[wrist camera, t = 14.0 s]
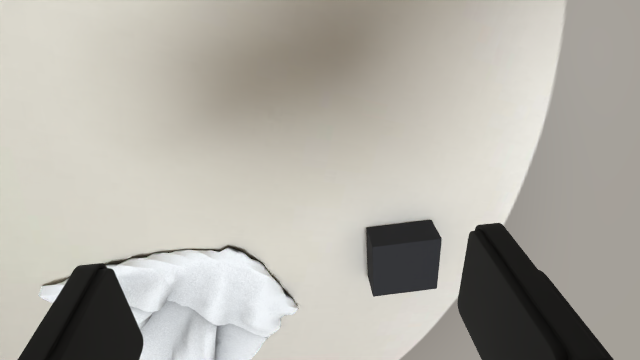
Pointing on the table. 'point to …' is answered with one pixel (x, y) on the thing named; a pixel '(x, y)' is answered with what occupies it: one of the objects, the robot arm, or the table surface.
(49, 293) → the cloth
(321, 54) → the table surface
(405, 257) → the top pad
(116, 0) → the table surface
